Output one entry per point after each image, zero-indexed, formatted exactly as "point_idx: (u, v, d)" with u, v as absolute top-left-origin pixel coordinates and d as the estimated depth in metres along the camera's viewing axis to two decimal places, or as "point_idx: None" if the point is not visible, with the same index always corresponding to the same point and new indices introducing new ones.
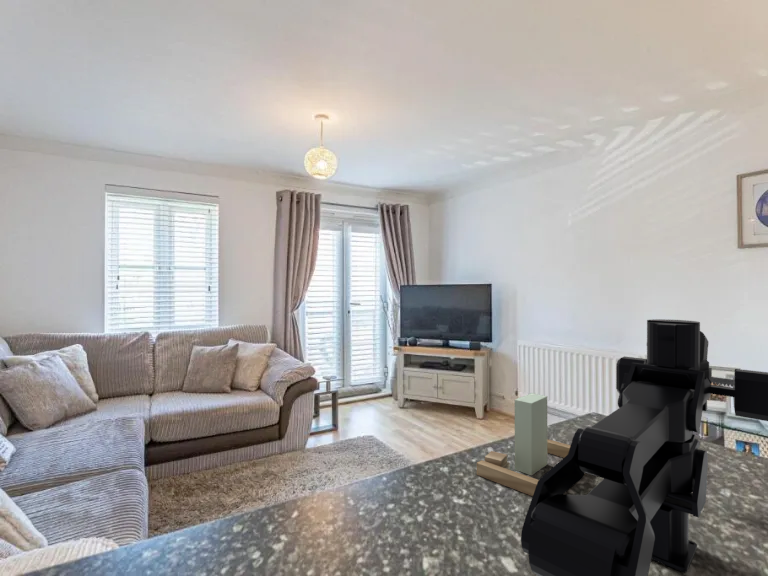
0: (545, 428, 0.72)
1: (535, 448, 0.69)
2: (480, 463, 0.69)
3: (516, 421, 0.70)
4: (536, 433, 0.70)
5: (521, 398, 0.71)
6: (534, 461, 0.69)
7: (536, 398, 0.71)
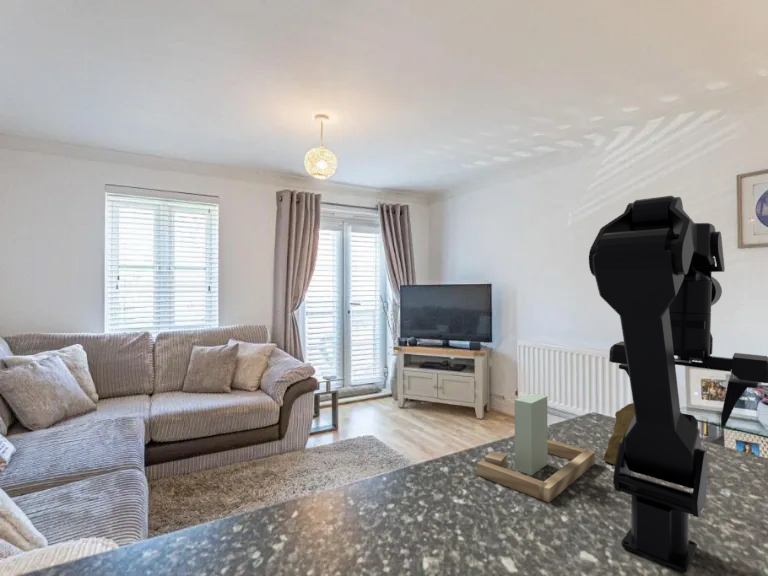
0: (545, 428, 0.72)
1: (535, 448, 0.69)
2: (480, 463, 0.69)
3: (516, 421, 0.70)
4: (536, 433, 0.70)
5: (521, 398, 0.71)
6: (534, 461, 0.69)
7: (536, 398, 0.71)
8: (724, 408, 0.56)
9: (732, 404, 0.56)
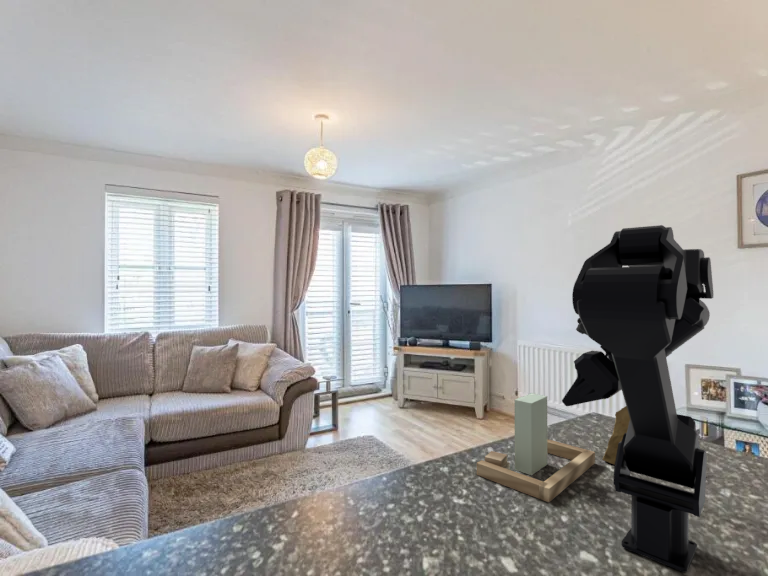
0: (545, 428, 0.72)
1: (535, 448, 0.69)
2: (480, 463, 0.69)
3: (516, 421, 0.70)
4: (536, 433, 0.70)
5: (521, 398, 0.71)
6: (534, 461, 0.69)
7: (536, 398, 0.71)
8: None
9: None
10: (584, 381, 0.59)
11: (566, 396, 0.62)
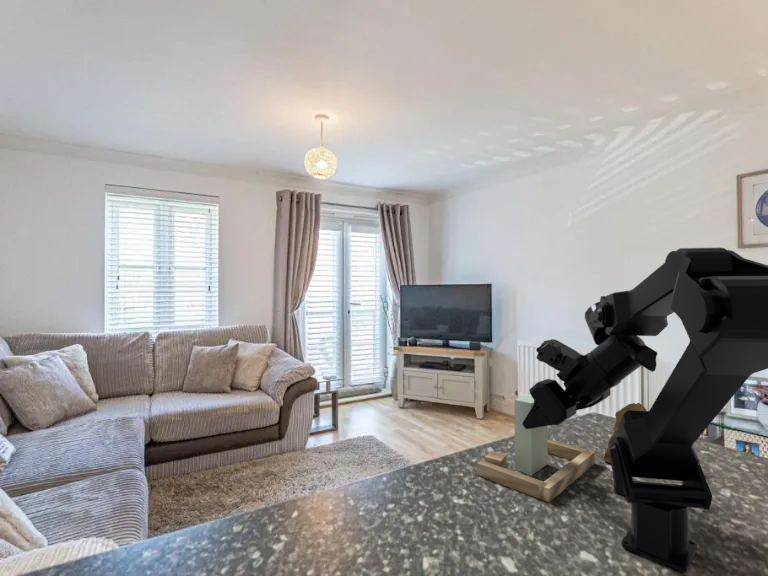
0: (545, 428, 0.72)
1: (535, 448, 0.69)
2: (480, 463, 0.69)
3: (516, 421, 0.70)
4: (536, 433, 0.70)
5: (521, 398, 0.71)
6: (534, 461, 0.69)
7: None
8: None
9: None
10: (540, 407, 0.64)
11: (525, 420, 0.67)
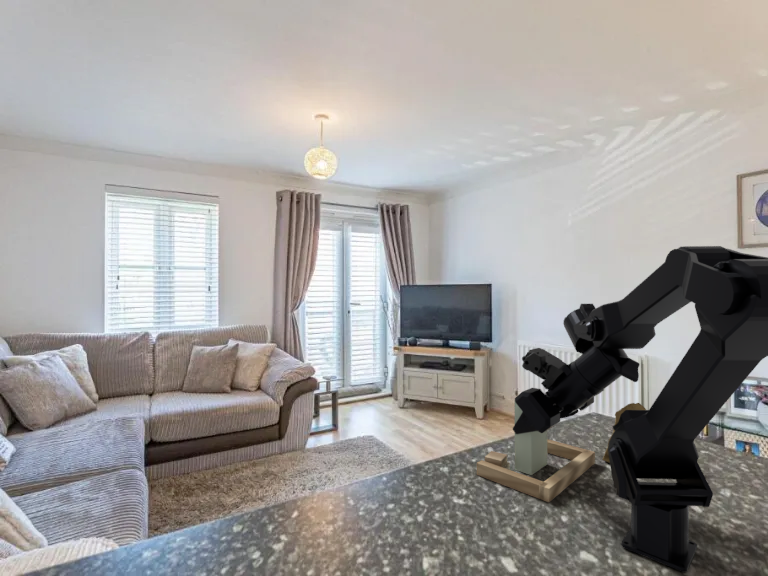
0: None
1: (534, 448, 0.69)
2: (480, 463, 0.69)
3: (516, 421, 0.70)
4: (536, 433, 0.70)
5: None
6: (534, 460, 0.69)
7: None
8: None
9: None
10: None
11: (516, 425, 0.70)
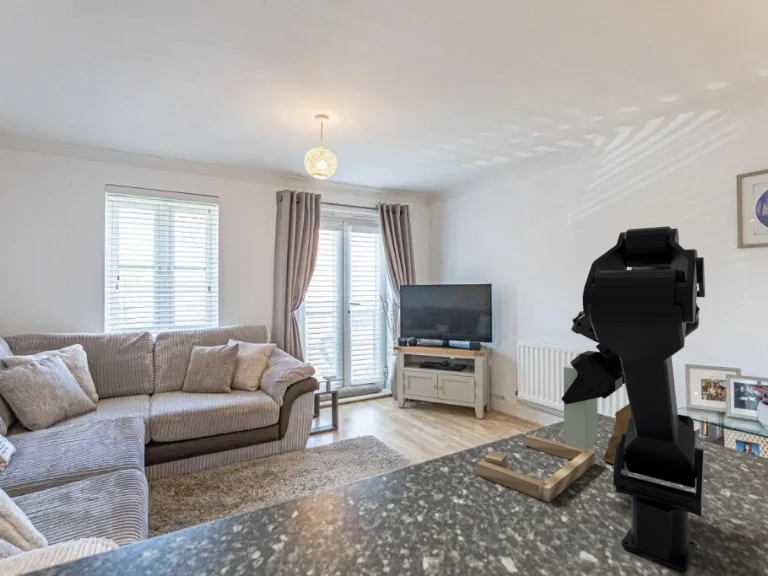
0: (595, 398, 0.66)
1: (587, 419, 0.63)
2: (480, 463, 0.69)
3: (566, 390, 0.64)
4: (588, 403, 0.63)
5: (569, 365, 0.65)
6: (586, 433, 0.63)
7: None
8: None
9: None
10: (584, 379, 0.61)
11: (566, 394, 0.63)
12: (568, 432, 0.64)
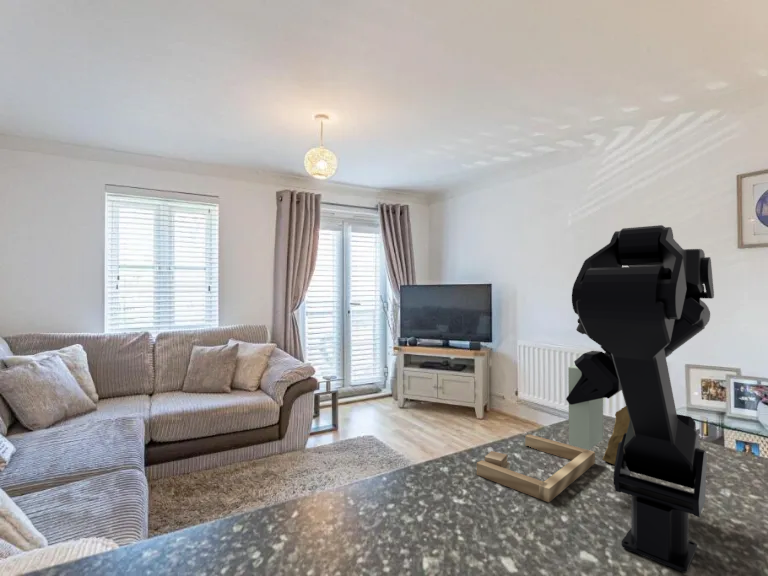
0: (601, 399, 0.65)
1: (592, 420, 0.63)
2: (480, 463, 0.69)
3: (570, 391, 0.64)
4: (593, 403, 0.63)
5: (574, 366, 0.65)
6: (591, 434, 0.62)
7: None
8: None
9: None
10: (588, 380, 0.60)
11: (570, 394, 0.63)
12: (573, 432, 0.63)
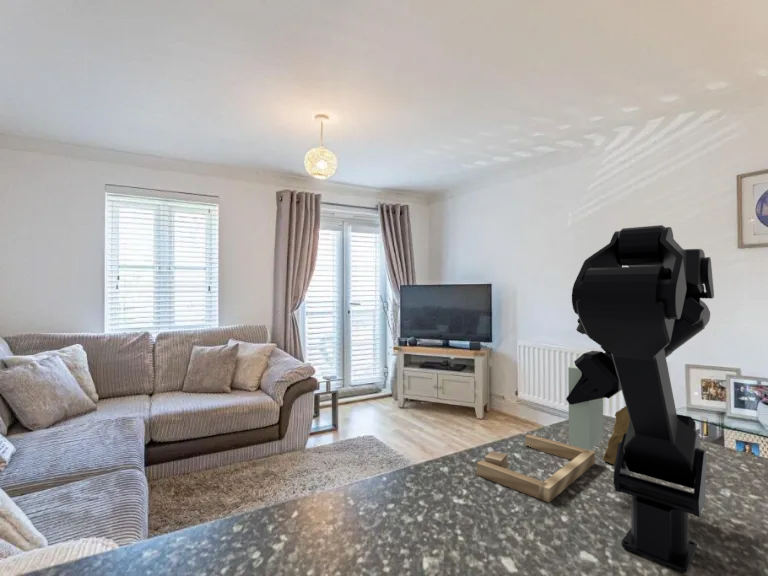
0: (601, 399, 0.65)
1: (592, 420, 0.63)
2: (480, 463, 0.69)
3: (570, 391, 0.64)
4: (593, 403, 0.63)
5: (574, 366, 0.65)
6: (591, 434, 0.62)
7: None
8: None
9: None
10: (588, 380, 0.60)
11: (570, 394, 0.63)
12: (573, 432, 0.63)
